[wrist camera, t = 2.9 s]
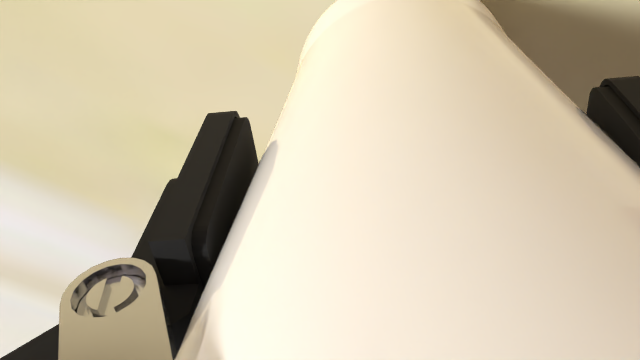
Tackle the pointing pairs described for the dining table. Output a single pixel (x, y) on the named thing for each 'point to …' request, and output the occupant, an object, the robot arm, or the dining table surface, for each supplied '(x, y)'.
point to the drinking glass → (427, 206)
